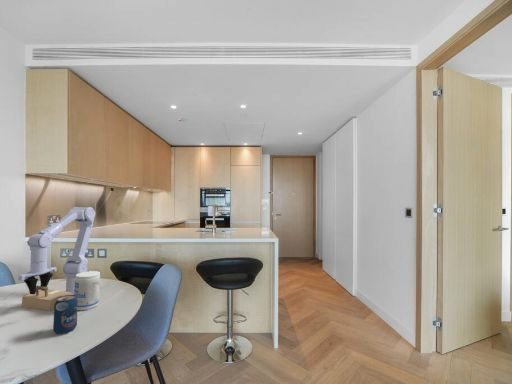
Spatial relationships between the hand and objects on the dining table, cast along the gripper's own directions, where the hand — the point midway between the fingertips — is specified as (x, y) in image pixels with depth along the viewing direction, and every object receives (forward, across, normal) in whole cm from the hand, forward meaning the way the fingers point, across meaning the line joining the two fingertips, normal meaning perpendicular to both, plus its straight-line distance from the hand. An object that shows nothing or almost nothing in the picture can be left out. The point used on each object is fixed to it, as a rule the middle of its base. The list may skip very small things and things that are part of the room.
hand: (38, 292), depth 113 cm
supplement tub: (+7, -7, +19) cm, 22 cm away
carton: (+7, -4, 0) cm, 8 cm away
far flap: (+3, -2, 0) cm, 3 cm away
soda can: (+7, +12, +30) cm, 33 cm away
